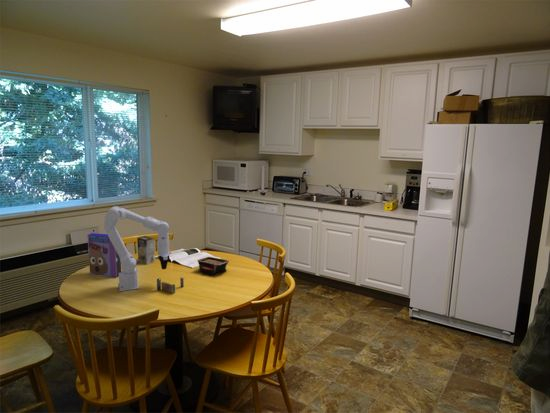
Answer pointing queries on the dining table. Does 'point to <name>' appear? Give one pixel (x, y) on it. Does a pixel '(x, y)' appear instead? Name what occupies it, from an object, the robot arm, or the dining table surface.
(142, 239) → the coffee box
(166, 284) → the brown wooden block
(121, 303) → the dining table surface
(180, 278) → the gate posts
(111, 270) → the cereal box
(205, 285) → the dining table surface
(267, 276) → the dining table surface
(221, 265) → the dark rectangular container
